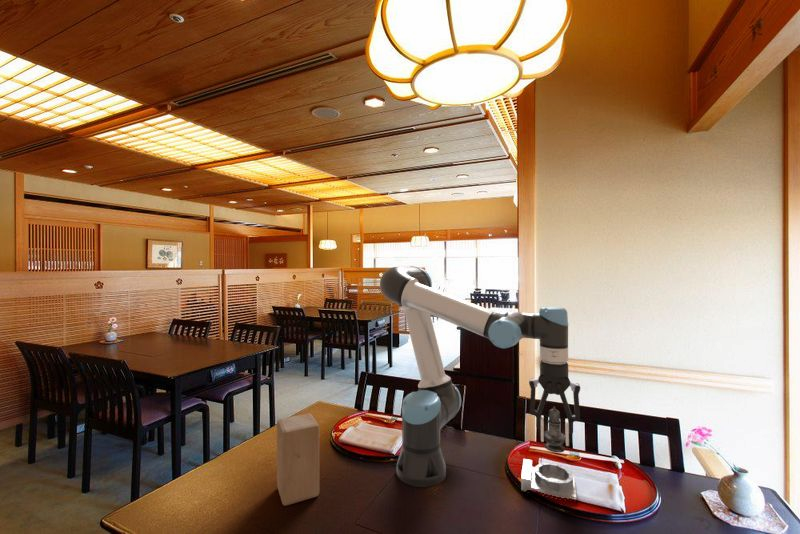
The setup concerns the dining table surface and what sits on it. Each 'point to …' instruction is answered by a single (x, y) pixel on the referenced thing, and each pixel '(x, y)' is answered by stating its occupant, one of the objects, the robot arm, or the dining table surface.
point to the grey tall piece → (554, 433)
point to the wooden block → (297, 458)
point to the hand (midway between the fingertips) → (554, 441)
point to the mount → (548, 479)
